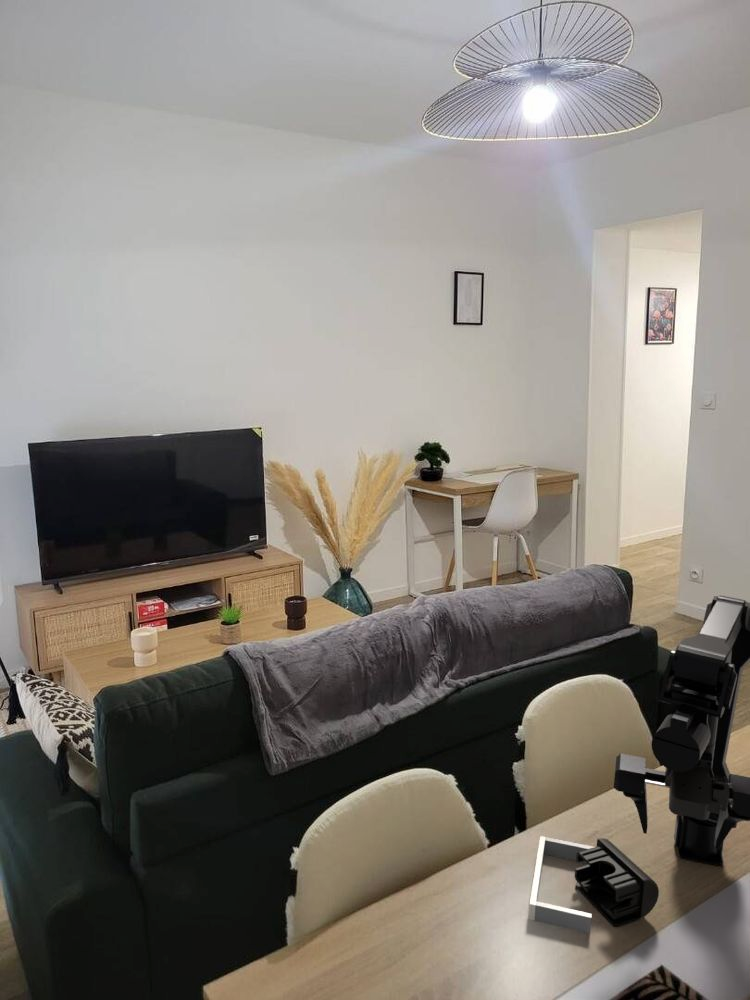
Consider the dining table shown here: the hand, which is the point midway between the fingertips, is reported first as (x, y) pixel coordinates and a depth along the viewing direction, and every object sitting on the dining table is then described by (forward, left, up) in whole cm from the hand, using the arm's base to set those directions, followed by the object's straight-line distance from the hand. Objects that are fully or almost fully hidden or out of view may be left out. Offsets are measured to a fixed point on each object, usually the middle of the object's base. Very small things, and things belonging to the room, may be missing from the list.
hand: (680, 839), depth 107 cm
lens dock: (+15, 0, -12) cm, 19 cm away
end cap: (+8, 0, -12) cm, 15 cm away
